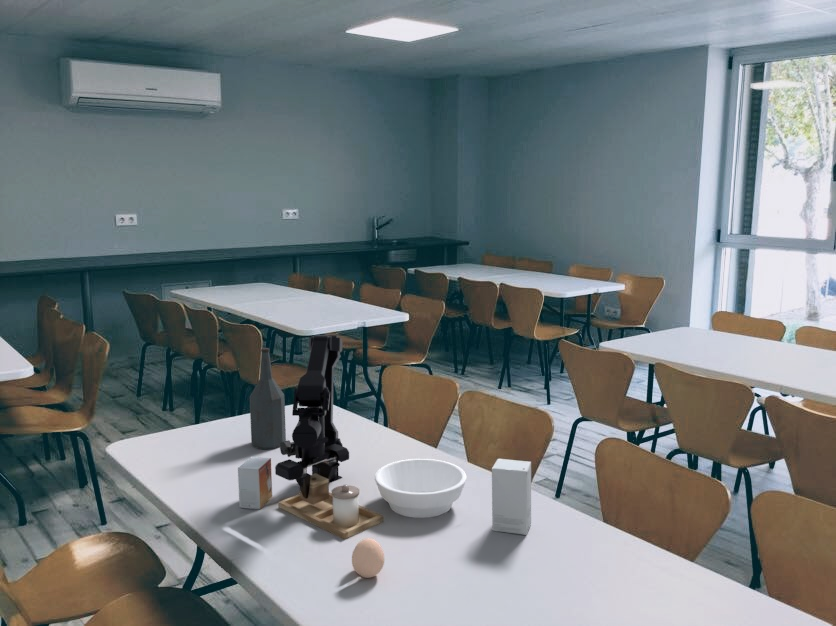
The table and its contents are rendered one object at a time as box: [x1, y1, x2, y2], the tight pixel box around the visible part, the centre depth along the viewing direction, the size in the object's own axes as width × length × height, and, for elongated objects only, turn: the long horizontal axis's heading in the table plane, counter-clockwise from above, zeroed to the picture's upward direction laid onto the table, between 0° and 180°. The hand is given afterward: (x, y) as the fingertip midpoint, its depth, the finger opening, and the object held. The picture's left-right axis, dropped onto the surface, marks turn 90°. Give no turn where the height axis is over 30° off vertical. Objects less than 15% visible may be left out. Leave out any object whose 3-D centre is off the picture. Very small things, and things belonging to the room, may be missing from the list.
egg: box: [351, 537, 386, 579], centre depth 149 cm, size 7×7×8 cm
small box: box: [237, 456, 273, 510], centre depth 183 cm, size 8×6×10 cm
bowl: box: [374, 458, 467, 519], centre depth 181 cm, size 22×22×8 cm
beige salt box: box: [299, 474, 330, 505], centre depth 179 cm, size 5×5×5 cm
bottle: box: [249, 347, 287, 450], centre depth 223 cm, size 10×10×30 cm
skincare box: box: [491, 458, 532, 536], centre depth 169 cm, size 8×7×16 cm
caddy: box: [278, 492, 384, 540], centre depth 176 cm, size 12×24×2 cm, turn 47°
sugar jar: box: [331, 484, 360, 527], centre depth 171 cm, size 6×6×9 cm
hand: (314, 494), depth 179 cm, fingers closed on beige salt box, 5 cm apart
